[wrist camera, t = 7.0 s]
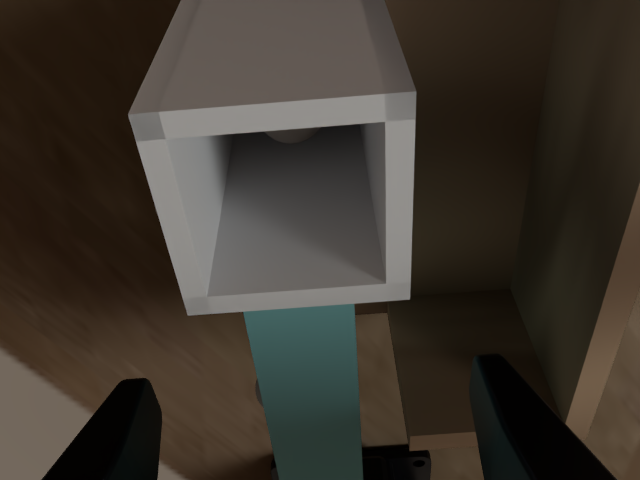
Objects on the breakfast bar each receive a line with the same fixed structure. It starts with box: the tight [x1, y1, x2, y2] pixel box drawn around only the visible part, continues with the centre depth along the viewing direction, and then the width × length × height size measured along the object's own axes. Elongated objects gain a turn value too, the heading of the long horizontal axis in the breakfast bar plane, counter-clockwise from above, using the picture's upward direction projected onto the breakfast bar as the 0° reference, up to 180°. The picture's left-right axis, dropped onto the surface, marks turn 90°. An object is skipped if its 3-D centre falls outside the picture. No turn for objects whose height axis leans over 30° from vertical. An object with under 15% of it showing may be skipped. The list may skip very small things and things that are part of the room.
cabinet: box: [264, 0, 640, 451], centre depth 13 cm, size 11×8×6 cm
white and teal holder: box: [128, 0, 416, 480], centre depth 12 cm, size 10×3×7 cm, turn 4°
